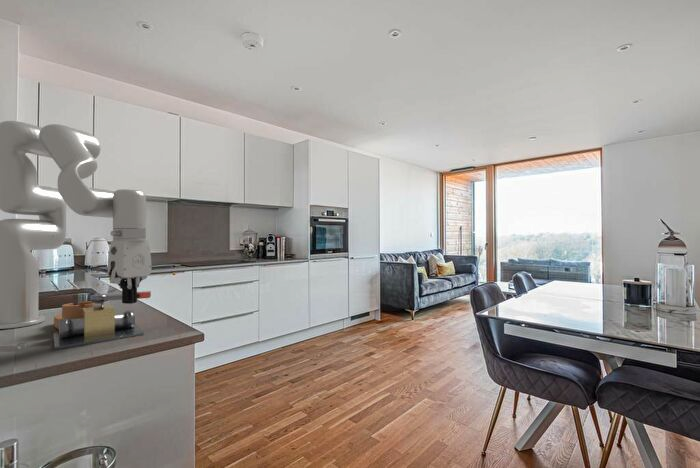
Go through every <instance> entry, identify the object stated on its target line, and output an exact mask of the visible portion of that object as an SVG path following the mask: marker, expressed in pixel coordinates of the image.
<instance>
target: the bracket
mask: <svg viewBox="0 0 700 468" xmlns="http://www.w3.org/2000/svg"><path fill="white" fill-rule="evenodd" d="M89 307H93V302H91V301H90V300H89V301H87V300H86V301H78V302H77V304H75V305H74V302H70V303H65V304H62V305H61V313H59V314H57V315H53V327H54V328H56V329H58V330H59V321H60V319H64V318H69V319H77V318H83V308H89Z"/></svg>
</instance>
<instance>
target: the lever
mask: <svg viewBox="0 0 700 468" xmlns="http://www.w3.org/2000/svg"><path fill="white" fill-rule="evenodd" d="M151 292H152V291H151V290H149V291H147V290H146V291H137V300H138V299H150V298H151V297H152V293H151ZM89 296H90V299H89V301H91V302H98V301H104V302H105V301H106V302H107V301H119V300H121V301H122V293H118V294H116V293H115V294H107V293H97V294H91V295H89Z"/></svg>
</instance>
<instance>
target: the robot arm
mask: <svg viewBox="0 0 700 468" xmlns="http://www.w3.org/2000/svg"><path fill="white" fill-rule="evenodd" d="M100 153H101V144H100V141H99V139H97V138H96V136H94V135H93V134H91V133H89V132H86V131H83V130H81V129H76V128H74V127H69V126H67V125H62V124H59V123H58V124H56V123H55V124H53V123H52V124H47V125H44V126H43V127H41V126H37V125H35V124H31V123H27V122H22V121H16V120H6V121H5V120H4V121H2V122H0V211H2V212H3V213H6V214H12V215H24V216H38V219H31V218H30V219H28V218H7V219H6V218H4V219H1V220H0V330H4V329H5V330H6V329H15V328H21V327H28V326H32V325H37V324H40V323H42V322H44V321H45V320H46V317H45V315H39V291H40V290H39V286H40V285H39V282H40V281H39V279H40V278H39V276H40V274H39V273H40V269H39V267H40V265H39V262H38V260H37V257H35V256H34V254H33V253H32V252H31V251H39V250H41V251H42V250H44V251H46V250H55V249H58V248H60V247H61V246H63V244H64V243H65V240H66V238H67V237H66V235H67V207H68V208H69V209H71V211H73V212H74V213H75V214H77V215H80V216H83V217H95V218H99V217H100V218H111V219H112V231H111V232H110V236H111V237H112V240H111V241H110V245H109V250H108V259H107V275H108V277H109V278H110V279H109V283H110V284H116V285H117V286H119V289H120V290H121V294H122V300H121V303H122V304H124V305H125V304H129V305H132V304H135V303H137V302H138V299H137V292H138V288H140V283H141V282H142V281H144V280H146V279H148V276H149V275H151V273H152V255H151V254H152V253H151V247H150V243H149V240H147V229H146V227H147V196H146V193H145V192H144V191H142V190H137V189H129V188H128V189H125V188H124V189H116V190H107V189H101V188H95V187H88V185H86V183H85V182H84V181H83V180H84V179H87V178H89V177H91V176H92V175H93V174H95V172H96V171H97V170H98V162H97V160H96V158H98V157H99V155H100ZM26 154H32V155H36V156H41V157H46V158H49V159H53V161H54V162H55V163H56V165H57V167H58V168H59V170H60V172H59V174H58V176H57V188H55V187H51V186H46V185H39V184H38V178H37V177H38V174H37V173H38V172H37V168H36V166H35V164H34V163H33V161H32V160H31V158H29V157H28V155H26Z"/></svg>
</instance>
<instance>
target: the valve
mask: <svg viewBox="0 0 700 468" xmlns="http://www.w3.org/2000/svg"><path fill="white" fill-rule="evenodd" d="M144 332H145V331H143V330H142V329H141V328H140V327H139V326H138V325H137V324H136V315H135V312H134V310H133V309H129V310H125V311H124V312H117V313H116V308H115V307H114V306H113V305H112V304H109V305H105V301H98V302H93V307H89V308H83V318H77V319H69V318H64V319H60V321H59V329H58V332H53V344H54V345H53V347H54V351H55V350H56V351H57V350H62V349H67V348H73V347H80V346H85V345H92V344H97V343H98V344H99V343H104V342H108V341H114V340H119V339H120V340H121V339H127V338H133V337H138V336H139V337H140V336H144V335H145V334H144Z"/></svg>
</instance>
